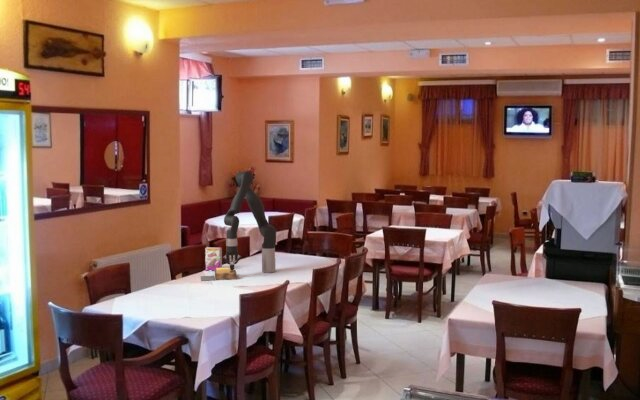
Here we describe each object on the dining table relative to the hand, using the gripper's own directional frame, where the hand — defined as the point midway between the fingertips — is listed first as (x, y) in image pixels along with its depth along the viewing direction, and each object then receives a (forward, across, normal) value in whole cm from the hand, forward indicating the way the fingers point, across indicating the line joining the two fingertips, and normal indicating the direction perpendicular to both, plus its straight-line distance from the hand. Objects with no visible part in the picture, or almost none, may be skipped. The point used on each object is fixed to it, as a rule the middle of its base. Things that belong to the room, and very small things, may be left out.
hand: (232, 270), depth 426 cm
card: (+1, +6, 0) cm, 6 cm away
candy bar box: (+5, +11, -26) cm, 29 cm away
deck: (+5, +4, 0) cm, 7 cm away
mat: (+5, +16, 0) cm, 17 cm away
